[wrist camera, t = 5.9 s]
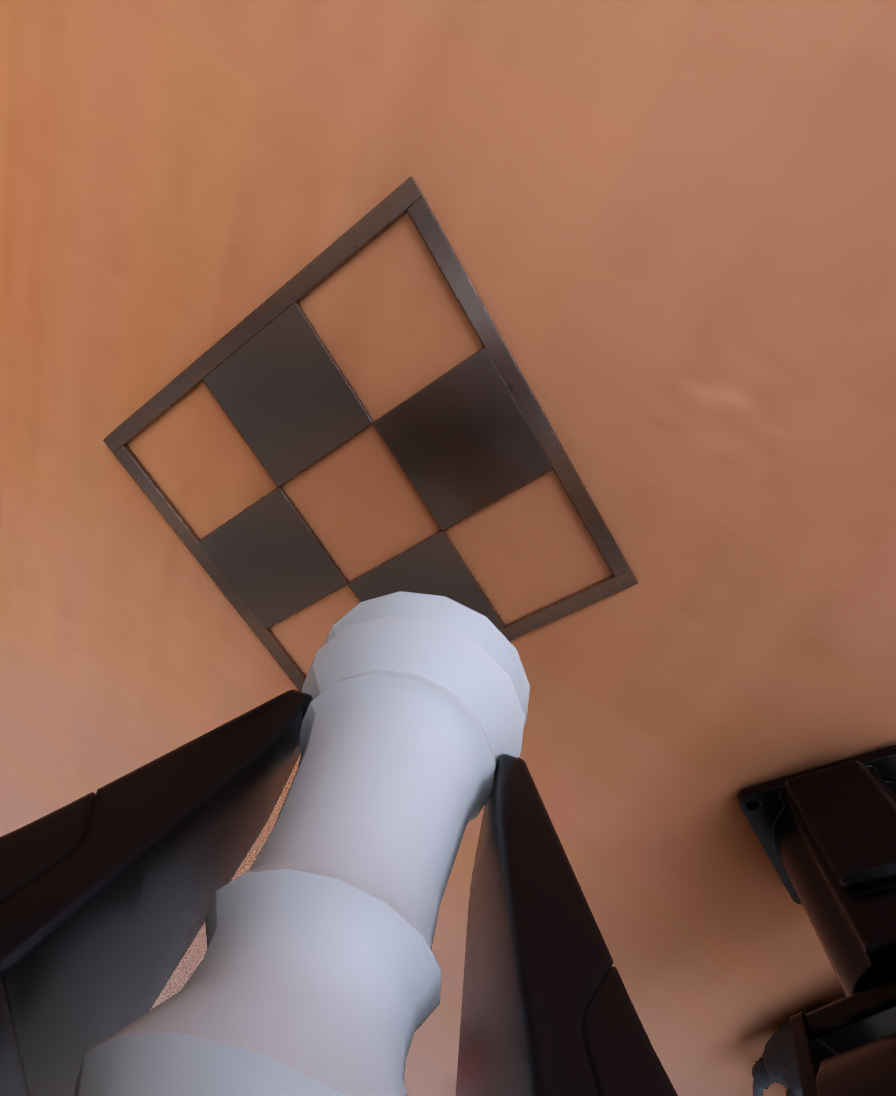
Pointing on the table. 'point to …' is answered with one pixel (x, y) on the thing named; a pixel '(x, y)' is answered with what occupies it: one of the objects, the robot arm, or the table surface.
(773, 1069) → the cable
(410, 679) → the rook chess piece
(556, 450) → the chessboard
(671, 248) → the table surface
